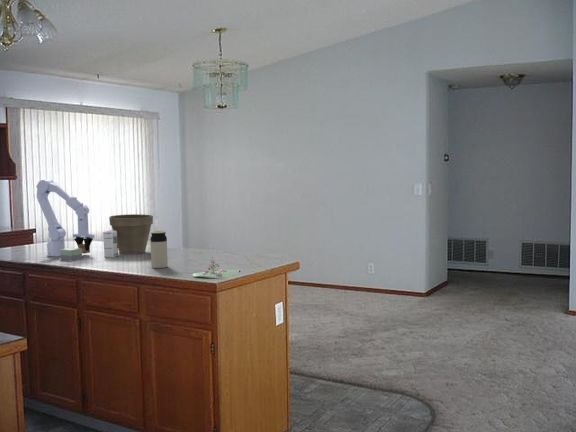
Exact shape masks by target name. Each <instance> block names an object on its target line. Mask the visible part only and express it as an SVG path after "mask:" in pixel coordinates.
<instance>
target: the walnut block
mask: <svg viewBox="0 0 576 432" xmlns="http://www.w3.org/2000/svg"><path fill="white" fill-rule="evenodd" d="M77 248H81V249H82V255H83V254H90V253H91V247H90V248H89V250H88V251H86V249H85V243H83V244H78V245H77Z"/></svg>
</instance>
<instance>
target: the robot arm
mask: <svg viewBox="0 0 576 432" xmlns="http://www.w3.org/2000/svg"><path fill="white" fill-rule="evenodd" d="M51 192H52V193H55V194H56V195H58V196H59V197H60V198H61V199H64V201H65V203H66V205H67V206H68V207H69V208H71V209H72V210H73V211H74V212H75V214H76V216H77V232H78V233H73V234H72V238H73V239H74V241H75V243H76V245H77V246H78V244H85V249H86V251H88V250H89V248H90V249H91V243H92V241H93V240H94V239H95V234H91V233H89V232H90V231H89V213H90V208H89V207H88V206H87V205H84V203H83V202H81V201H79V200H78V198H77V197H76V196H70V195H69V194H68V193H67V192H66V191H65V190H64V189H63V188H62V187H61V186H60V185H58V183H57V182H55V181H54V180H52V179H40V180H39V181H38V183H37V184H36V199H37V202H38V204H39V206H40V208H41V212H42V214H43V216H44V218H45V220H46V224H47V225H48V228H47V230H48V237H49V238H50V240H49V241H48V242H47V244H46V248H47V249H46V251H47V252H46V253H47V255H46V256H47V257H56V258H57V257H58V258H59V257H60V255H61V252H60V250H61V249H66V246H65V237H66V235H67V232H66V230H65V229H64V227H62V224H61V223H59V221H58V219H57V217H56V215H55V213H54V210H53V207H52V205H51V203H50V200H49V195H50V193H51Z"/></svg>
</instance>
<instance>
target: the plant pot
mask: <svg viewBox="0 0 576 432" xmlns="http://www.w3.org/2000/svg"><path fill="white" fill-rule="evenodd" d="M108 220H109V225H110V226H111V229H112V230H115V231H117V243H118V254H120V255H121V254H122V255H137V254H138V255H139V254H143V253H146V249H147V245H148V241H149V235H150V233H151V227H152V225H153V222H154V216H153V215H152V214H140V213H139V214H137V213H135V214H131V213H130V214H117V215H110V216H109V219H108Z"/></svg>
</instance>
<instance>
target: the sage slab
mask: <svg viewBox="0 0 576 432" xmlns="http://www.w3.org/2000/svg"><path fill="white" fill-rule="evenodd" d="M60 252H61V255H66V256H73V255H79V254H82V255H83V253H82V249H81V248H78V247H68V248H65V249H61V250H60Z"/></svg>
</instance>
